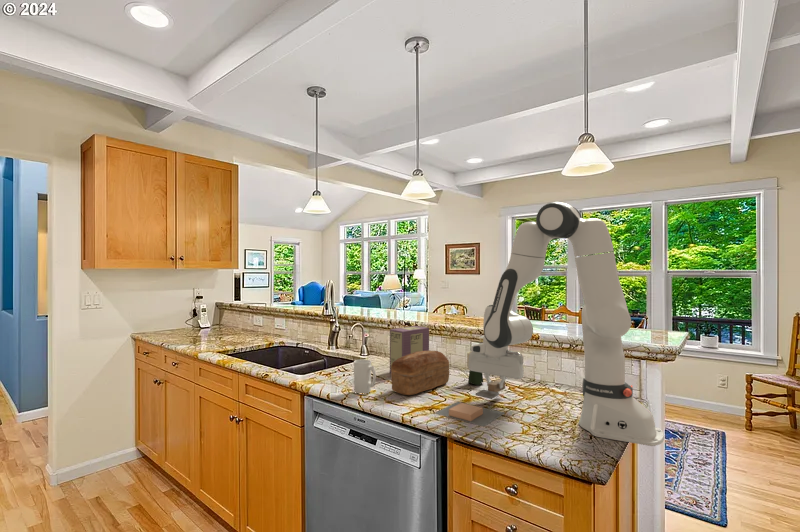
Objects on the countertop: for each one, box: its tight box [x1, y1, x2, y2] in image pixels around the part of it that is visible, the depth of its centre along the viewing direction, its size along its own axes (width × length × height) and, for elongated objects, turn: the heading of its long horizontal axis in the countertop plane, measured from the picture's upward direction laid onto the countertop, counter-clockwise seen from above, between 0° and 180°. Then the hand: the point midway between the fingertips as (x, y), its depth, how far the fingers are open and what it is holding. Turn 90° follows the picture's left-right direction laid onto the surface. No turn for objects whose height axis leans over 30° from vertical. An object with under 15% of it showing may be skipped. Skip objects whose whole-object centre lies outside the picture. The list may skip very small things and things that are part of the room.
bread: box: [390, 350, 450, 396], centre depth 167 cm, size 12×28×14 cm, turn 137°
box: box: [389, 325, 430, 374], centre depth 193 cm, size 17×9×20 cm, turn 133°
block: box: [449, 402, 484, 421], centre depth 134 cm, size 8×2×8 cm
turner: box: [475, 378, 506, 400], centre depth 148 cm, size 15×6×3 cm, turn 142°
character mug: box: [466, 350, 484, 386], centre depth 172 cm, size 11×7×13 cm, turn 145°
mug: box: [353, 358, 377, 394], centre depth 160 cm, size 10×7×12 cm, turn 53°
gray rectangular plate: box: [434, 401, 506, 427], centre depth 136 cm, size 18×15×1 cm
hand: (494, 387), depth 149 cm, fingers closed on turner, 2 cm apart
